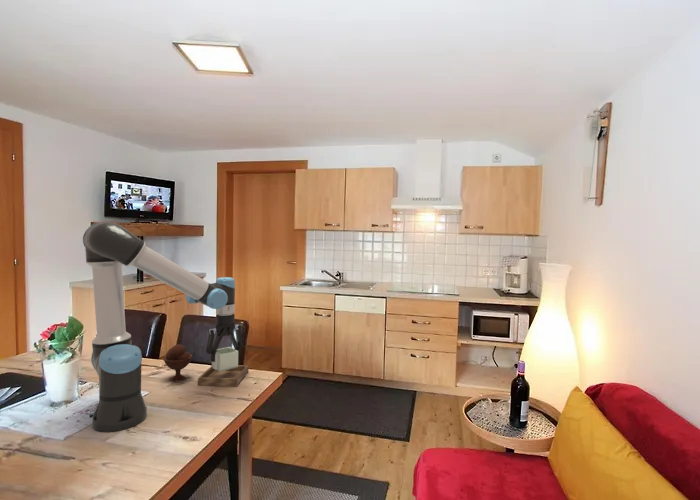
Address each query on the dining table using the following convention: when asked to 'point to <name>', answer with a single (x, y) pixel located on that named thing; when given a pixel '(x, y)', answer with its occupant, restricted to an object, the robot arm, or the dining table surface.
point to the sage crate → (226, 359)
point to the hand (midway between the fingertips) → (224, 366)
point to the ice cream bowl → (177, 360)
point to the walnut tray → (223, 377)
